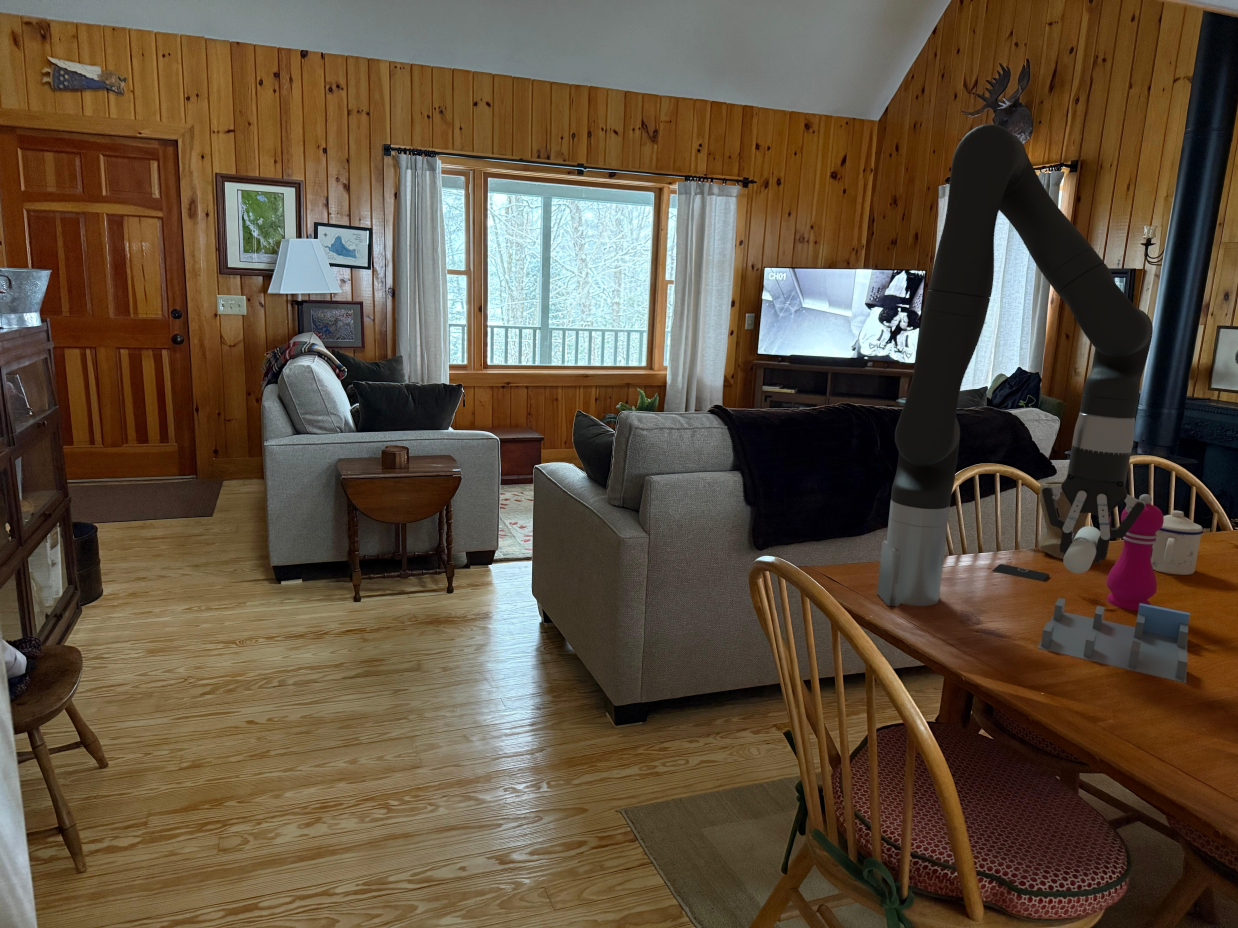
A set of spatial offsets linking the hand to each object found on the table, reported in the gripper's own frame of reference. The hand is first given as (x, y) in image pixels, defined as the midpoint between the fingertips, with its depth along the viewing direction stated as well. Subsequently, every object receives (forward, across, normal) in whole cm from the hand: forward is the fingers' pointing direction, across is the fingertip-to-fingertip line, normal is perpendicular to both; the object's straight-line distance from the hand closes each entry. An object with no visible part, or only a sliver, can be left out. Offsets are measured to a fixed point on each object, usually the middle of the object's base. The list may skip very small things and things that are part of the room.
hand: (1082, 558), depth 124 cm
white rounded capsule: (0, 0, 0) cm, 0 cm away
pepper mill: (+13, +6, +22) cm, 26 cm away
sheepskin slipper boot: (+13, -7, +52) cm, 54 cm away
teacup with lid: (+13, +11, +53) cm, 55 cm away
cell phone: (+14, -12, +24) cm, 30 cm away
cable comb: (+13, +6, 0) cm, 14 cm away
